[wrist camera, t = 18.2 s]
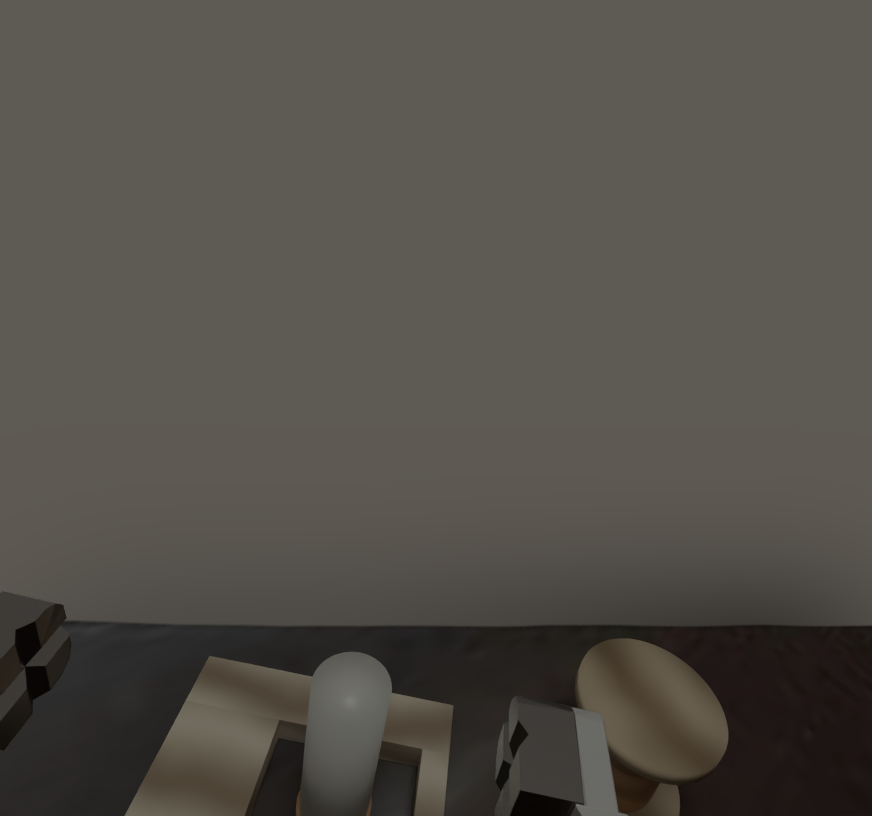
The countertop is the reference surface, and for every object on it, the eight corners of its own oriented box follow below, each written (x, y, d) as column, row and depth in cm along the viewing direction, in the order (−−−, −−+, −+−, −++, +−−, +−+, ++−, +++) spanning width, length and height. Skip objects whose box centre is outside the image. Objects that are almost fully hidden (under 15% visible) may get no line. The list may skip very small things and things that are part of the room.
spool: (596, 699, 46) (633, 619, 42) (699, 802, 40) (755, 721, 36) (516, 762, 41) (549, 677, 36) (622, 891, 35) (676, 808, 31)
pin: (343, 774, 38) (365, 637, 32) (380, 836, 35) (411, 699, 29) (281, 814, 36) (291, 673, 29) (315, 885, 33) (335, 745, 27)
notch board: (210, 674, 43) (209, 656, 42) (448, 723, 42) (453, 705, 41) (112, 864, 32) (108, 845, 31) (429, 930, 32) (435, 913, 31)
